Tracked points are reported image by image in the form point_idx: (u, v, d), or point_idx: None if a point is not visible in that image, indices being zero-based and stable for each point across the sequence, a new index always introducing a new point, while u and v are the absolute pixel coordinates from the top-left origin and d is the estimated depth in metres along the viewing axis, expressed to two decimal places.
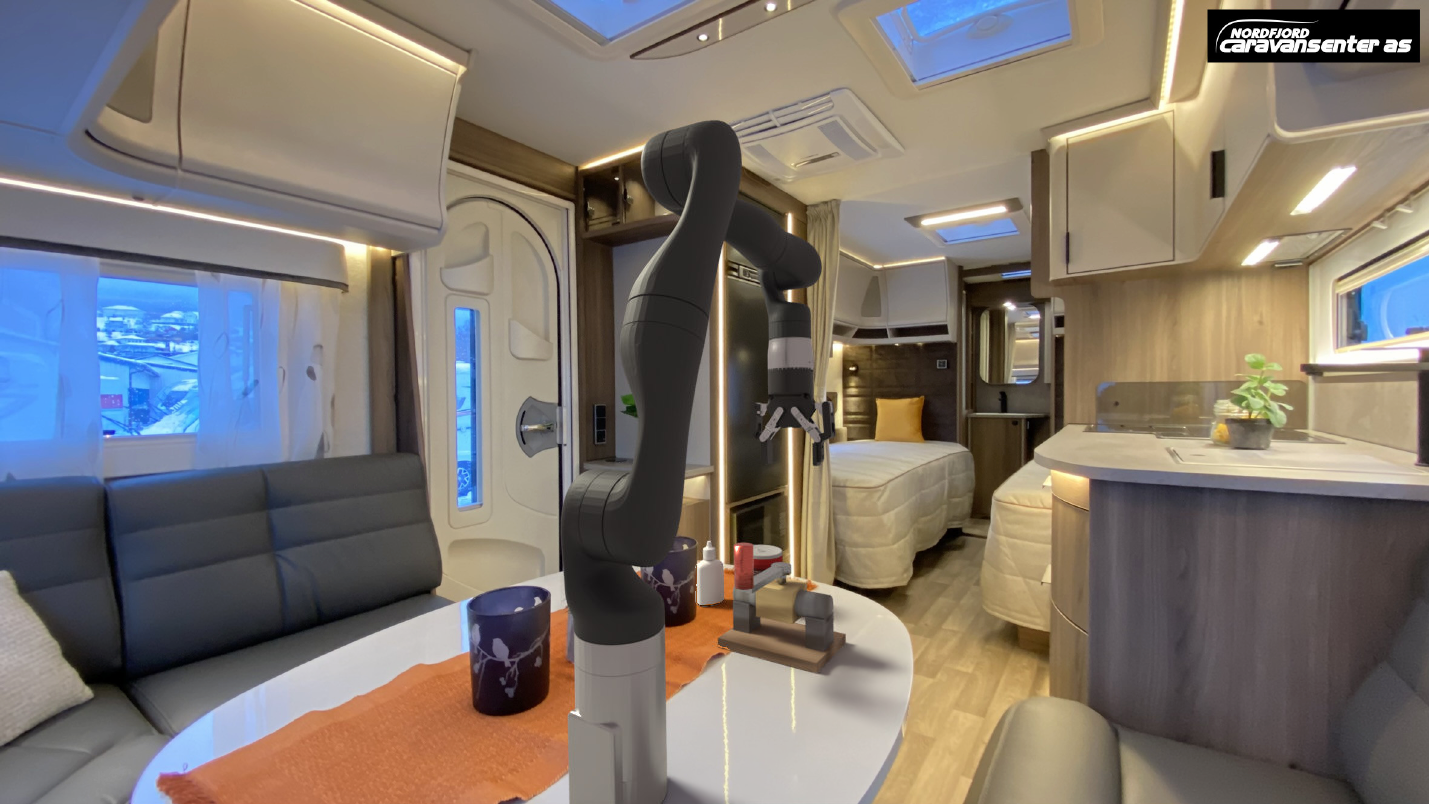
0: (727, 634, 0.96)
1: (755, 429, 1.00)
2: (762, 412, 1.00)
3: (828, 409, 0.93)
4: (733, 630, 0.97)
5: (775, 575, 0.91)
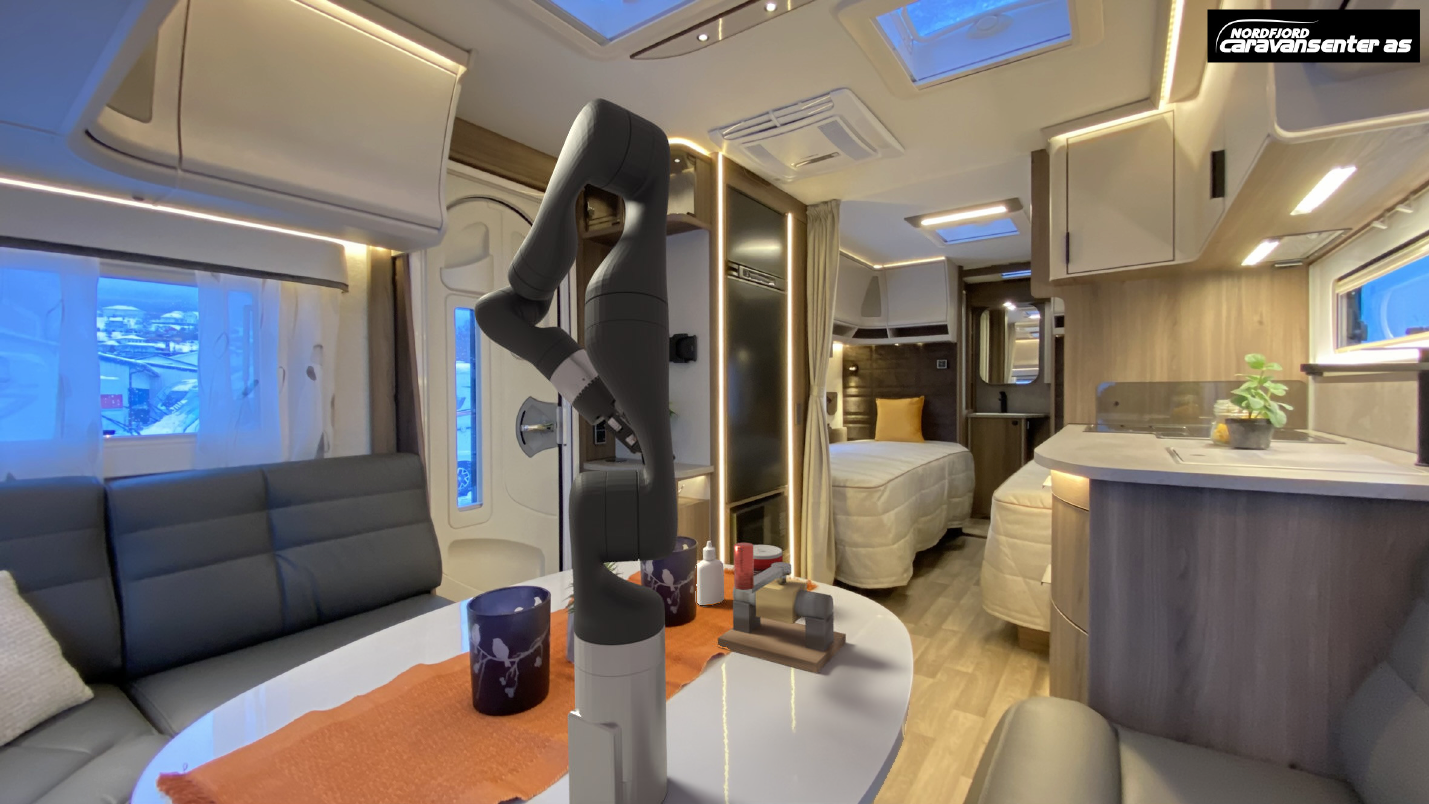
0: (727, 634, 0.96)
1: None
2: None
3: None
4: (733, 630, 0.97)
5: (775, 575, 0.91)
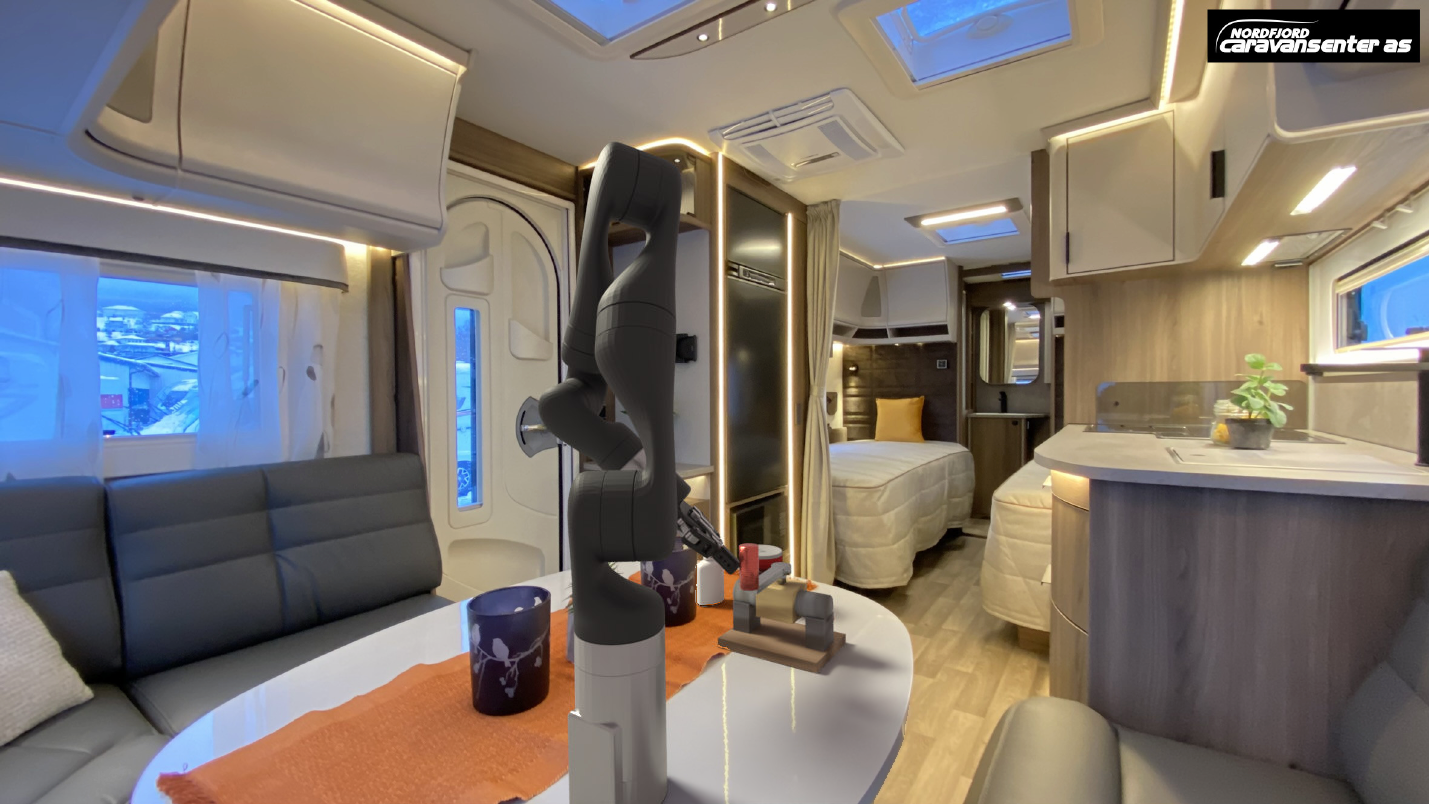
0: (727, 634, 0.96)
1: (711, 539, 0.83)
2: None
3: None
4: (733, 630, 0.97)
5: (777, 575, 0.91)
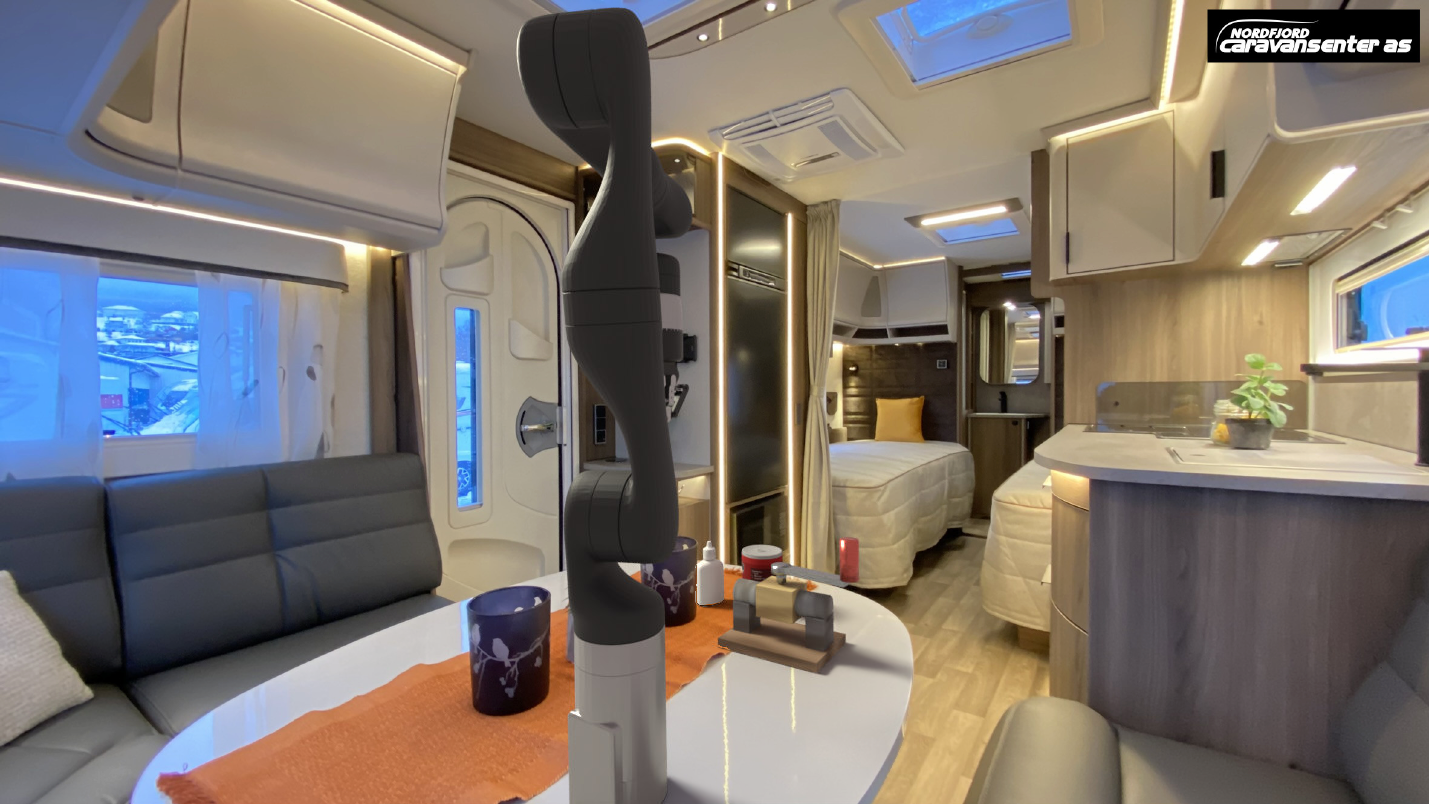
0: (727, 634, 0.96)
1: None
2: None
3: (686, 393, 0.89)
4: (733, 630, 0.97)
5: None
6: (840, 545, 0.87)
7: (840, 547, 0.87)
